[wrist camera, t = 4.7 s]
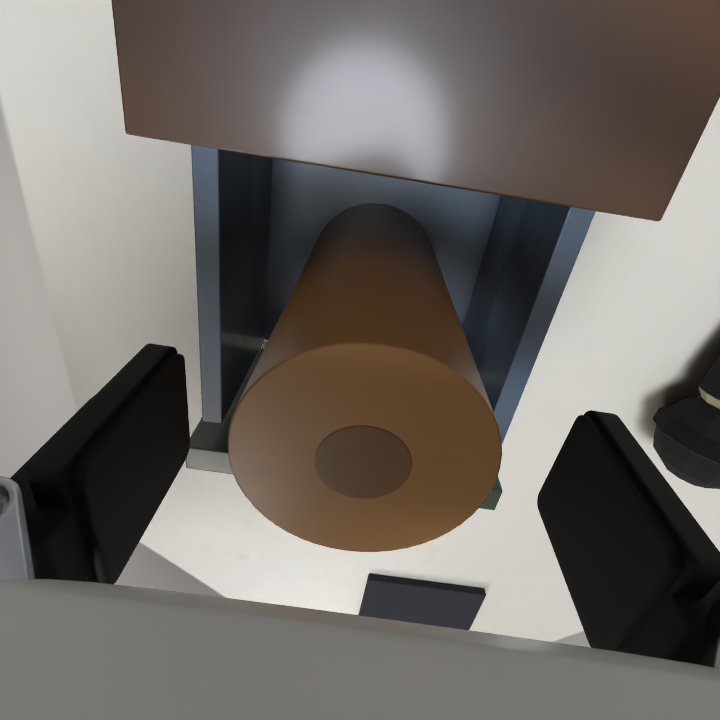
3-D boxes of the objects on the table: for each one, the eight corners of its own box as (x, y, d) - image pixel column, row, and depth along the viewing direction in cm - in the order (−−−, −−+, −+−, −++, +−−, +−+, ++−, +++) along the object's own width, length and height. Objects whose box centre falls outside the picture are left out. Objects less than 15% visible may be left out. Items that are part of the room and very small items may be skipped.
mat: (352, 637, 42) (352, 644, 42) (368, 573, 37) (368, 580, 37) (455, 650, 42) (456, 657, 42) (484, 588, 37) (486, 595, 37)
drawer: (445, 448, 29) (469, 570, 21) (241, 419, 28) (190, 533, 21) (564, 77, 19) (692, 55, 11) (247, 22, 18) (149, -42, 10)
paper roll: (307, 312, 23) (226, 536, 11) (319, 193, 20) (225, 320, 8) (419, 329, 23) (461, 567, 11) (446, 214, 20) (544, 369, 8)
